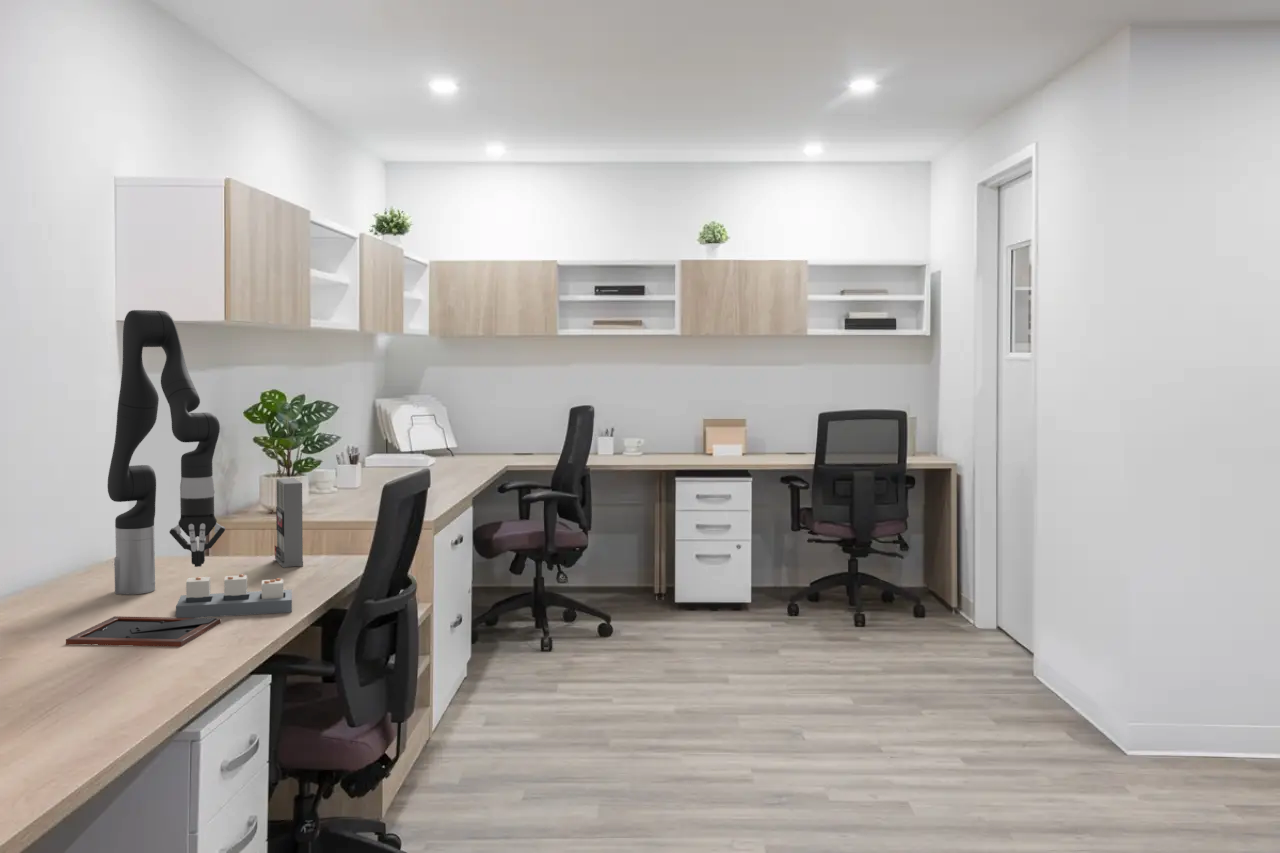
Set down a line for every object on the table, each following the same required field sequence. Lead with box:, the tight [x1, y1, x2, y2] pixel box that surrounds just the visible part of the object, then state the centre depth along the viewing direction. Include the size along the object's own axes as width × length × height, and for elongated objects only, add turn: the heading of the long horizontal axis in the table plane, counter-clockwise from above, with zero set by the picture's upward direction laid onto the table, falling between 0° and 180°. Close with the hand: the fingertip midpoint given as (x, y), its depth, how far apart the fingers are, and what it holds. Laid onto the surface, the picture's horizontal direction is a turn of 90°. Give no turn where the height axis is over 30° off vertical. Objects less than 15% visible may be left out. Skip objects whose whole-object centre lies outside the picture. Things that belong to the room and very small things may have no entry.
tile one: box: [185, 576, 211, 598], centre depth 253 cm, size 5×5×5 cm
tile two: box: [223, 573, 248, 596], centre depth 256 cm, size 5×5×5 cm
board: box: [175, 589, 293, 618], centre depth 256 cm, size 26×12×3 cm, turn 108°
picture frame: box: [65, 615, 222, 648], centre depth 234 cm, size 20×2×25 cm
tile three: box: [261, 577, 284, 599], centre depth 259 cm, size 5×5×5 cm
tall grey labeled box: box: [274, 477, 304, 569], centre depth 314 cm, size 14×6×25 cm, turn 28°
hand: (198, 566), depth 253 cm, fingers closed
